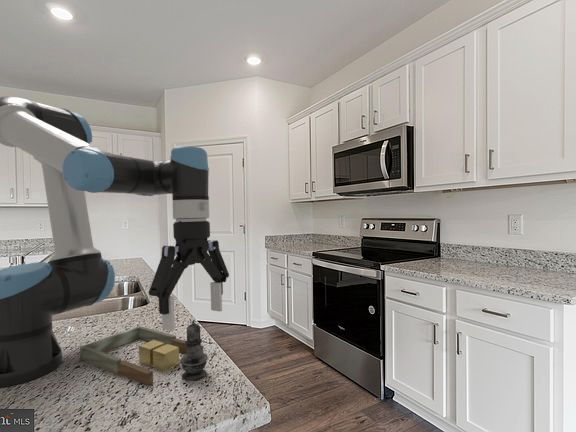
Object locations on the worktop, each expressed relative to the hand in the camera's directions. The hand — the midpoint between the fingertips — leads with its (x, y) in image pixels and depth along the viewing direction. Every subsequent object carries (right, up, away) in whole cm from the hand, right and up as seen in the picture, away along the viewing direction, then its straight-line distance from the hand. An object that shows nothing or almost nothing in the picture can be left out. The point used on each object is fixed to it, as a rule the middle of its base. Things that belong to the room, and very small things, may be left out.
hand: (194, 319), depth 70 cm
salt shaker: (0, -12, 0) cm, 12 cm away
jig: (-15, -12, +9) cm, 22 cm away
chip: (-12, -12, +7) cm, 19 cm away
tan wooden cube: (-8, -12, +5) cm, 15 cm away
